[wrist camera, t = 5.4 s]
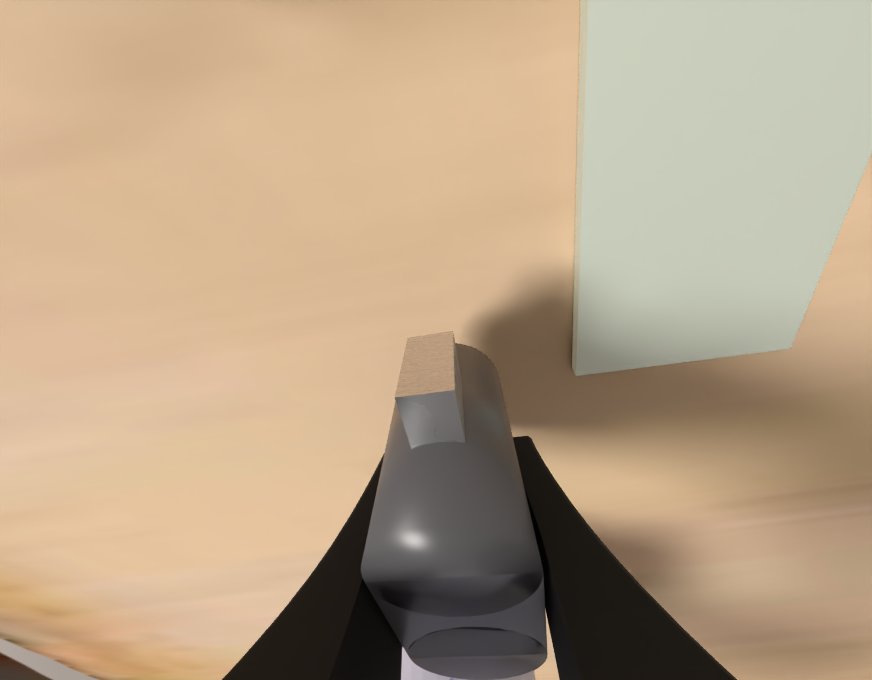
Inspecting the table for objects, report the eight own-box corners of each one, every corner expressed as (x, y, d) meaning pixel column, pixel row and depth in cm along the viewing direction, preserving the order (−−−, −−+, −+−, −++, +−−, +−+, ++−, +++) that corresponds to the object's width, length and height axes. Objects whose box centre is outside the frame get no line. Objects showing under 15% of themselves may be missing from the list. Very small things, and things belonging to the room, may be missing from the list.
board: (778, 341, 15) (790, 348, 14) (571, 368, 16) (576, 376, 15) (971, -157, 8) (1009, -179, 7) (581, -48, 9) (590, -61, 8)
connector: (511, 484, 14) (548, 678, 9) (432, 491, 14) (423, 681, 9) (489, 297, 10) (537, 459, 5) (378, 315, 10) (305, 483, 5)
